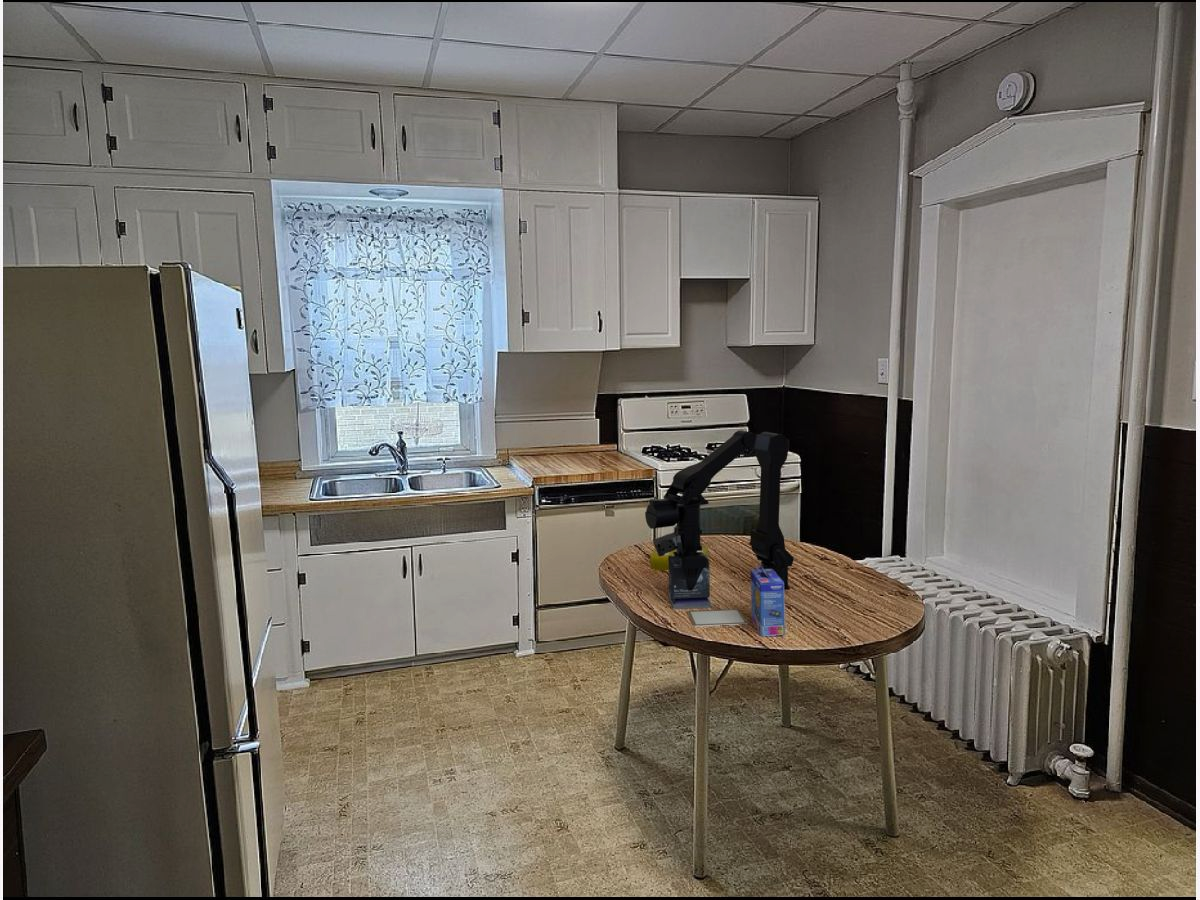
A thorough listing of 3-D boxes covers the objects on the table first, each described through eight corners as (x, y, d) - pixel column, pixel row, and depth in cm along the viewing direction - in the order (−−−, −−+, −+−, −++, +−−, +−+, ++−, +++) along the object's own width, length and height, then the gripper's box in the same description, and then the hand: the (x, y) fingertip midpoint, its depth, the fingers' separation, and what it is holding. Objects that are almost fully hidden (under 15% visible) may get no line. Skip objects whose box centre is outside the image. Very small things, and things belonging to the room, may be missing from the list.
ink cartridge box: (749, 620, 171) (749, 558, 169) (773, 619, 171) (774, 558, 169) (760, 637, 161) (760, 572, 159) (785, 636, 161) (786, 571, 159)
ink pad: (704, 595, 189) (704, 588, 188) (711, 607, 180) (710, 600, 179) (668, 596, 188) (668, 590, 188) (673, 609, 179) (673, 602, 179)
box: (671, 600, 181) (671, 561, 179) (668, 592, 186) (667, 555, 185) (710, 598, 181) (710, 560, 180) (705, 590, 187) (705, 553, 185)
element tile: (702, 574, 206) (702, 557, 206) (649, 571, 210) (648, 554, 210) (709, 558, 221) (709, 542, 220) (658, 556, 225) (658, 540, 224)
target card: (738, 610, 177) (738, 608, 177) (747, 624, 169) (747, 622, 168) (687, 612, 177) (687, 610, 177) (694, 626, 168) (694, 625, 168)
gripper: (650, 515, 190) (651, 575, 192) (659, 534, 171) (660, 600, 174) (694, 514, 190) (694, 574, 193) (708, 533, 172) (708, 598, 174)
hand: (688, 586), depth 183 cm, fingers closed on box, 5 cm apart
